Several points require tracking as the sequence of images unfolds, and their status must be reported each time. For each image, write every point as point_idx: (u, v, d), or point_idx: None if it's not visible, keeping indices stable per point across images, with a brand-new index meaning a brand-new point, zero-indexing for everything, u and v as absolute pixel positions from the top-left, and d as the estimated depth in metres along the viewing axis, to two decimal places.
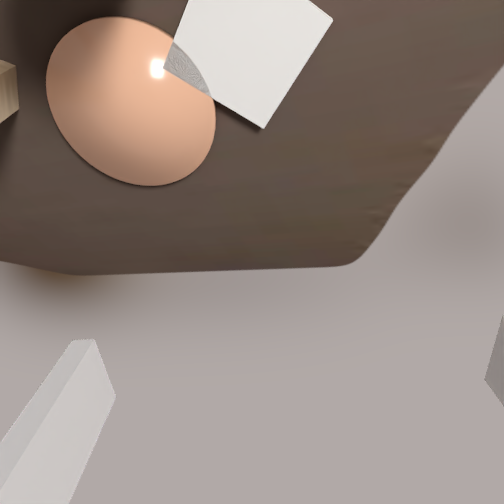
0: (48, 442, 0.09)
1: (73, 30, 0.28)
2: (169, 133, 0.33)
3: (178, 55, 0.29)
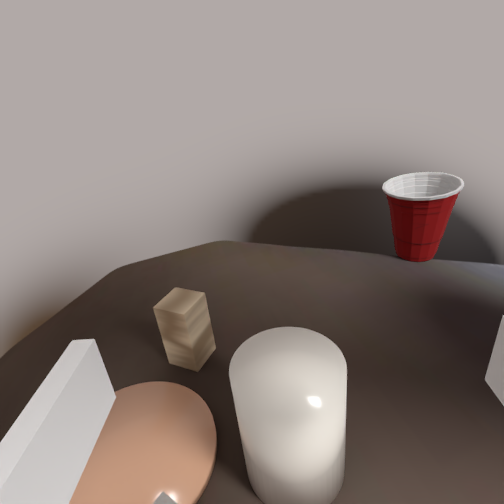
0: (48, 442, 0.09)
1: (211, 416, 0.33)
2: (95, 486, 0.28)
3: None
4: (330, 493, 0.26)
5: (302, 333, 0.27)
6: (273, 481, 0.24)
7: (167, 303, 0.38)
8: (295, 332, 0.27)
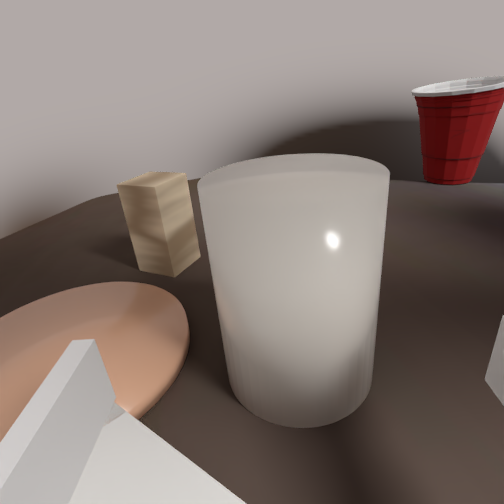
0: (48, 442, 0.09)
1: (184, 313, 0.24)
2: (5, 384, 0.19)
3: None
4: (353, 393, 0.16)
5: (315, 156, 0.18)
6: (264, 361, 0.15)
7: (136, 181, 0.29)
8: (304, 156, 0.18)
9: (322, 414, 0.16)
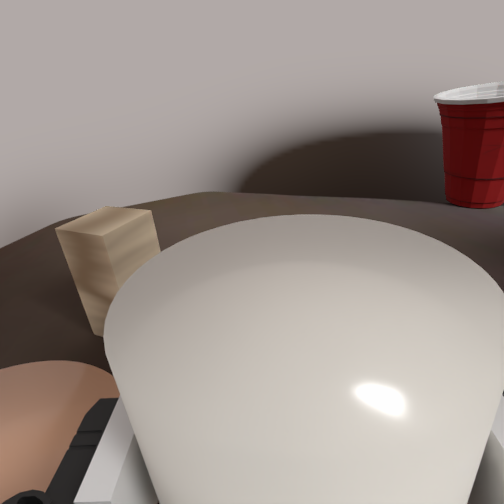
0: None
1: None
2: None
3: None
4: None
5: (335, 223, 0.10)
6: None
7: (82, 223, 0.21)
8: (316, 221, 0.11)
9: None
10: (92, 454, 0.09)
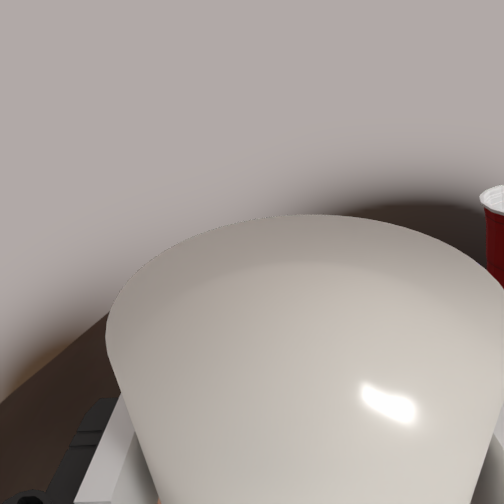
0: None
1: None
2: None
3: None
4: None
5: (337, 223, 0.10)
6: None
7: None
8: (317, 222, 0.11)
9: None
10: (92, 454, 0.09)
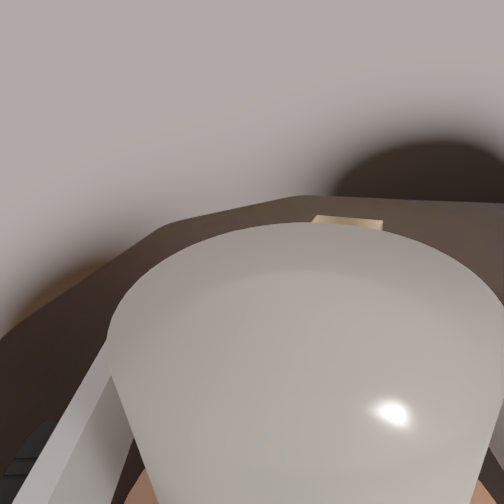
0: (106, 411, 0.10)
1: None
2: None
3: None
4: None
5: (335, 231, 0.10)
6: None
7: None
8: (316, 230, 0.11)
9: None
10: None
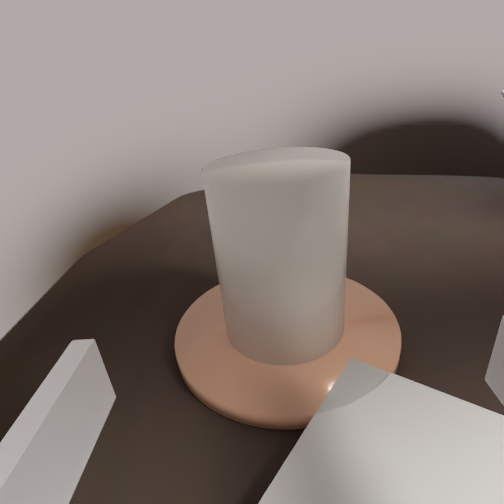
0: (48, 442, 0.09)
1: (373, 293, 0.26)
2: None
3: None
4: (326, 337, 0.21)
5: (296, 149, 0.22)
6: (254, 309, 0.19)
7: None
8: (287, 149, 0.22)
9: (301, 353, 0.20)
10: None
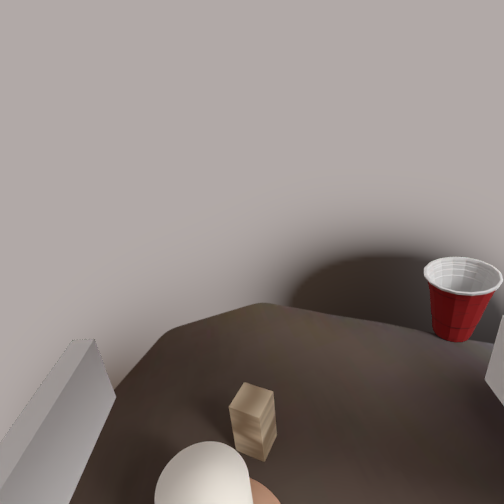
0: (48, 442, 0.09)
1: None
2: None
3: None
4: None
5: (223, 450, 0.32)
6: None
7: (241, 402, 0.42)
8: (217, 448, 0.33)
9: None
10: None
